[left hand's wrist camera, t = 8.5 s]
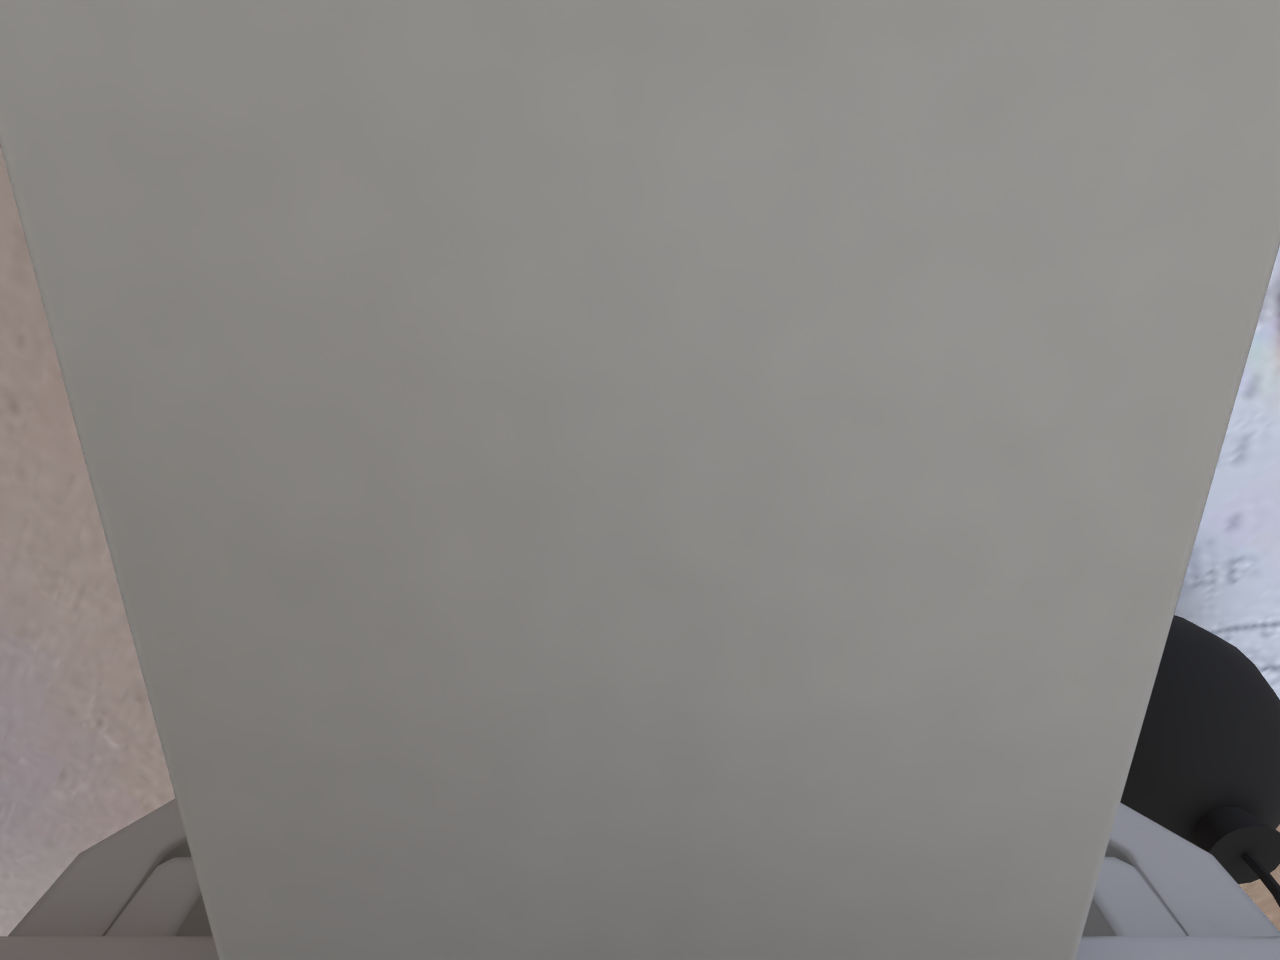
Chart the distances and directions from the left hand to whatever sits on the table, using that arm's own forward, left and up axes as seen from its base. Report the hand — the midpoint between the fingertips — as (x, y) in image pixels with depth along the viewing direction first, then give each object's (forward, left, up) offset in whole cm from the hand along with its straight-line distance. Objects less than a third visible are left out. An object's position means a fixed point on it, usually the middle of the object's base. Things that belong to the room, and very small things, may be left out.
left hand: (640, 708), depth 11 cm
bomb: (0, -18, -15) cm, 23 cm away
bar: (+7, +4, -4) cm, 8 cm away
